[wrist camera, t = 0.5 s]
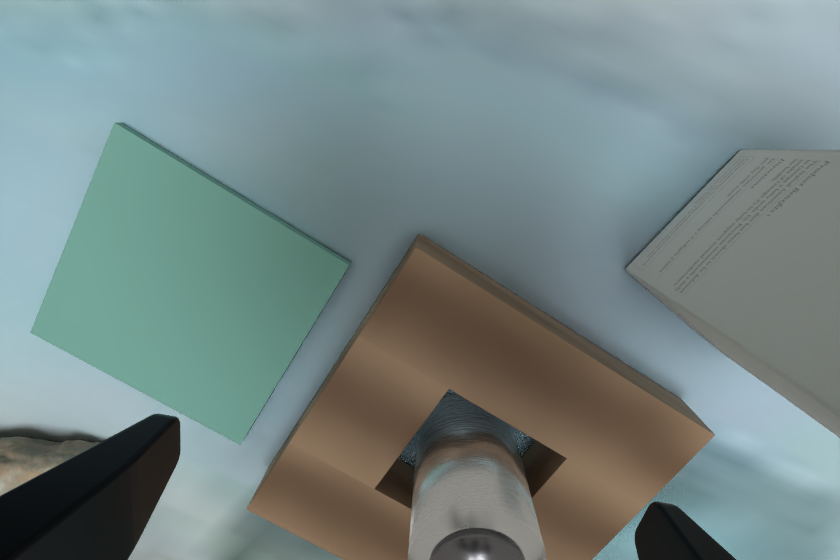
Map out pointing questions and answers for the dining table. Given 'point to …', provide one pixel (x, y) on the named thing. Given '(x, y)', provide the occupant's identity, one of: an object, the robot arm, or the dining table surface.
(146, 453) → the robot arm
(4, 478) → the beige elongated piece
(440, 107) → the dining table surface
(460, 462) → the steel cylinder
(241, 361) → the teal mat
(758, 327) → the supplement box
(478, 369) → the socket block
